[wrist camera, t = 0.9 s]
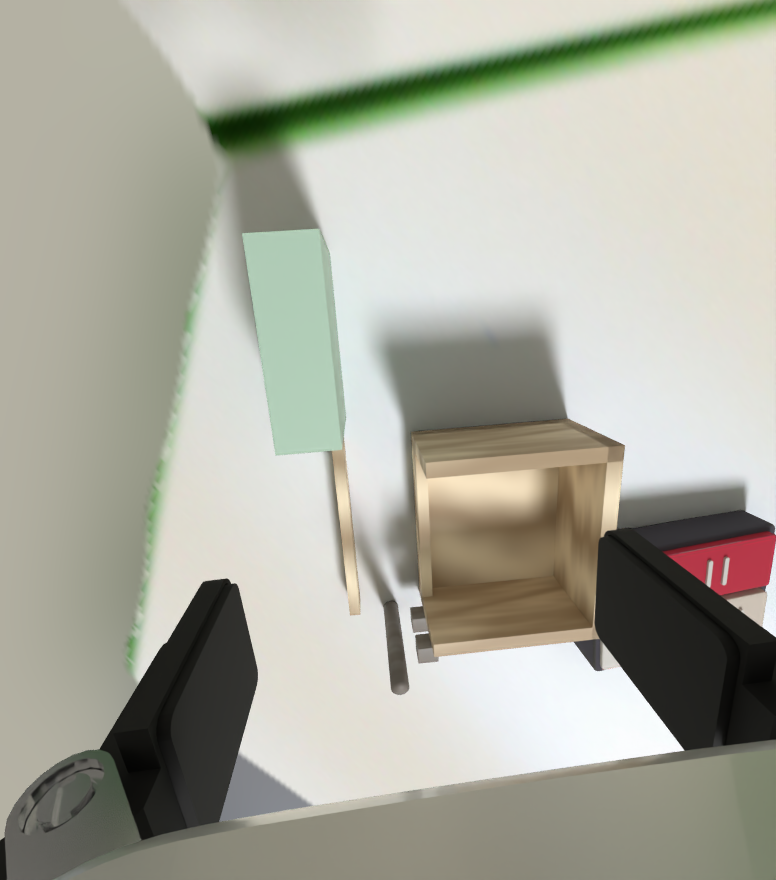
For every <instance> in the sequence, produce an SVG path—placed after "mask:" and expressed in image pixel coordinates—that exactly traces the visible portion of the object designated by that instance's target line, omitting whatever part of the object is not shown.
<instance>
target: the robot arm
mask: <svg viewBox="0 0 776 880" xmlns="http://www.w3.org/2000/svg"><path fill="white" fill-rule="evenodd" d="M594 624H595V630H596V633H597V635H598V637H599V638H600V640H601V641H602V642H603V644H604V645H605V646H606V648H607V649H608V650H609V652H610V653H611V654H612V656H613V657H614V658H615V660H616V661H617V662H618V663H619V665H620V666H621V667H622V669H623V670H624V671H625V673H626V674H627V675H628V677H629V678H630V679H631V681H632V682H633V683H634V684H635V686H636V687H637V688H638V690H639V691H640V692H641V694H642V695H643V696H644V698H645V699H646V700H647V702H648V703H649V704H650V705H651V707H652V708H653V709H654V711H655V712H656V713H657V715H658V716H659V717H660V719H661V720H662V721H663V723H664V724H665V725H666V726H667V728H668V729H669V730H670V732H671V733H672V734H673V736H674V737H675V738H676V740H677V741H678V742H679V744H680V745H681V746H682V747H683V749H684V750H685V751H680V752H673V753H665V754H658V755H651V756H644V757H637V758H630V759H623V760H616V761H609V762H602V763H595V764H588V765H581V766H574V767H567V768H560V769H554V770H547V771H540V772H533V773H526V774H520V775H513V776H506V777H499V778H493V779H486V780H479V781H473V782H466V783H459V784H453V785H446V786H439V787H433V788H426V789H419V790H413V791H406V792H400V793H394V794H387V795H381V796H374V797H368V798H361V799H355V800H349V801H342V802H336V803H329V804H323V805H316V806H310V807H304V808H297V809H291V810H285V811H280V812H274V813H268V814H262V815H257V816H251V817H245V818H239V819H234V820H228V821H222V822H219V820H220V816H221V813H222V809H223V805H224V802H225V798H226V795H227V791H228V788H229V784H230V780H231V777H232V773H233V769H234V766H235V762H236V758H237V755H238V751H239V748H240V744H241V741H242V737H243V733H244V730H245V726H246V722H247V719H248V715H249V712H250V708H251V704H252V701H253V697H254V694H255V690H256V686H257V680H258V670H257V665H256V661H255V656H254V652H253V648H252V643H251V639H250V635H249V631H248V626H247V622H246V618H245V613H244V609H243V605H242V600H241V596H240V592H239V588H238V585H237V584H231V582H230V581H229V579H220V580H212V581H205V582H203V583H202V584H201V586H200V588H199V589H198V591H197V593H196V594H195V596H194V598H193V599H192V601H191V603H190V604H189V606H188V608H187V610H186V611H185V613H184V615H183V616H182V618H181V620H180V621H179V623H178V625H177V626H176V628H175V630H174V631H173V633H172V635H171V637H170V638H169V640H168V642H167V643H165V644H164V645H163V646H162V647H161V648H160V650H159V651H158V653H157V655H156V656H155V658H154V660H153V661H152V663H151V665H150V666H149V668H148V669H147V671H146V673H145V674H144V676H143V678H142V679H141V681H140V683H139V684H138V686H137V688H136V689H135V691H134V693H133V694H132V696H131V698H130V699H129V701H128V703H127V704H126V706H125V708H124V709H123V711H122V713H121V714H120V716H119V718H118V719H117V721H116V723H115V724H114V726H113V728H112V729H111V731H110V733H109V734H108V736H107V738H106V739H105V741H104V743H103V744H102V746H101V748H100V749H99V750H87V751H84V752H81V753H78V754H74V755H72V756H70V757H68V758H66V759H64V760H62V761H61V762H59V763H57V764H55V765H54V766H53V767H51V768H50V769H49V770H47V771H46V772H44V773H43V774H42V775H41V776H40V777H39V778H37V779H36V780H35V781H34V782H33V783H32V784H31V785H30V786H29V787H28V788H27V789H26V790H25V792H24V793H23V794H22V796H21V797H20V798H19V799H18V801H17V802H16V803H15V805H14V807H13V809H12V811H11V812H10V814H9V816H8V818H7V822H6V828H5V837H4V838H3V839H2V840H0V880H776V637H774V636H773V635H772V634H770V633H769V632H768V631H767V630H765V629H764V628H763V627H761V626H760V625H759V624H757V623H756V622H755V621H753V620H752V619H751V618H749V617H748V616H747V615H745V614H744V613H743V612H741V611H740V610H739V609H737V608H736V607H735V606H733V605H732V604H731V603H730V602H728V601H727V600H726V599H724V598H723V597H722V596H720V595H719V594H718V593H716V592H715V591H714V590H712V589H711V588H710V587H708V586H707V585H706V584H704V583H703V582H702V581H700V580H699V579H698V578H696V577H695V576H694V575H693V574H691V573H690V572H689V571H687V570H686V569H685V568H683V567H682V566H681V565H679V564H678V563H677V562H675V561H674V560H673V559H671V558H670V557H669V556H667V555H666V554H665V553H663V552H662V551H661V550H659V549H658V548H657V547H656V546H654V545H653V544H652V543H650V542H649V541H648V540H646V539H645V538H644V537H642V536H641V535H640V534H638V533H637V532H636V531H634V530H633V529H631V528H625V529H617V530H609V531H607V532H605V534H604V537H601V538H600V539H599V542H598V560H597V580H596V600H595V619H594Z"/></svg>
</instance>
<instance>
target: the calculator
mask: <svg viewBox="0 0 776 880" xmlns="http://www.w3.org/2000/svg"><path fill="white" fill-rule="evenodd" d="M633 530H634V531H636V532H637V533H638V534H640V535H641V536H642V537H644V538H645V539H646V540H648V541H649V542H650V543H652V544H653V545H654V546H656V547H657V548H658V549H659V550H661V551H662V552H663V553H665V554H666V555H667V556H669V557H670V558H671V559H673V560H674V561H675V562H677V563H678V564H679V565H681V566H682V567H683V568H685V569H686V570H687V571H689V572H690V573H691V574H693V575H694V576H695V577H696V578H698V579H699V580H700V581H702V582H703V583H704V584H706V585H707V586H708V587H710V588H711V589H712V590H714V591H715V592H716V593H718V594H719V595H720V596H722V597H723V598H724V599H726V600H727V601H728V602H730V603H731V604H732V605H733V606H735V607H736V608H737V609H739V610H740V611H741V612H743V613H744V614H745V615H747V616H748V617H749V618H751V619H752V620H753V621H755V622H756V623H757V624H759V625H760V626H761V627H762V624H763V618H764V612H765V605H766V599H767V592H765V589H766V585H768V584H769V580H770V574H771V568H772V562H773V555H774V549H775V543H776V535H775V534H774V532H775V526H774V525H773V524H771V523H769V522H767V521H765V520H762V519H760V518H758V517H756V516H754V515H752V514H749V513H747V512H745V511H742V510H741V511H734V512H728V513H721V514H714V515H708V516H702V517H695V518H689V519H683V520H678V521H672V522H667V523H662V524H656V525H651V526H646V527H640V528H635V529H633ZM574 643H575V644H576V646H577V647H578V648H579V650H580V651H581V652H582V654H583V655H584V656H585V658H586V659H587V660H588V662H589V663H590V664H591V666H592V667H593V668H594V670H596V671H602V670H606V669H611V668H616V667H620V665H619V663H618V662H617V661H616V660H615V658H614V657H613V656H612V654H611V653H610V652H609V650H608V649H607V648H606V646H605V645H604V644H603V642H602V641H601V640H600V639H593V640H584V641H575V642H574Z"/></svg>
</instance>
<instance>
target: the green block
mask: <svg viewBox="0 0 776 880" xmlns="http://www.w3.org/2000/svg"><path fill="white" fill-rule="evenodd" d="M242 237H243V244H244V250H245V257H246V264H247V270H248V277H249V283H250V290H251V296H252V303H253V310H254V316H255V323H256V329H257V336H258V343H259V349H260V356H261V362H262V369H263V375H264V382H265V389H266V395H267V402H268V408H269V415H270V422H271V428H272V435H273V441H274V448H275V454H276V455H288V454H299V453H311V452H323V451H335V450H342V446H343V437H344V429H345V421H346V412H345V402H344V392H343V382H342V371H341V361H340V351H339V341H338V331H337V321H336V310H335V300H334V290H333V280H332V270H331V260H330V253H329V251H328V248H327V246H326V244H325V241H324V239H323V237H322V234H321V232H320V230H319V229H305V230H288V231H271V232H254V233H242Z"/></svg>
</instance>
